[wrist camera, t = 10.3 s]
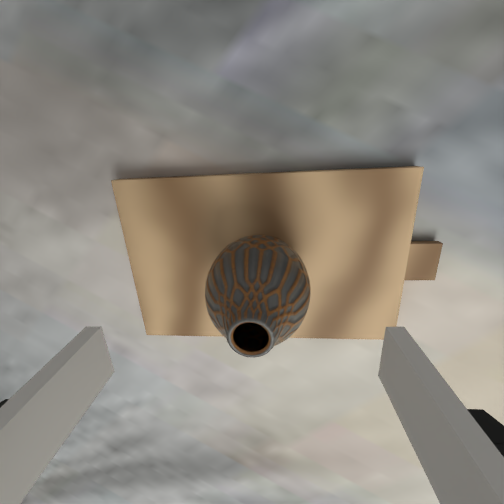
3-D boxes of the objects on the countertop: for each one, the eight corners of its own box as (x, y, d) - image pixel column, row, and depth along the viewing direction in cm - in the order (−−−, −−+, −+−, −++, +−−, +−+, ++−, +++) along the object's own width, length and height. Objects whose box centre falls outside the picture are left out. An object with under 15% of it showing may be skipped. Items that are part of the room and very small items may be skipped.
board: (152, 326, 26) (146, 334, 25) (119, 179, 21) (111, 180, 20) (416, 331, 23) (423, 340, 22) (451, 164, 18) (462, 165, 17)
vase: (282, 209, 19) (286, 252, 11) (318, 285, 21) (343, 369, 13) (202, 246, 21) (155, 307, 13) (242, 314, 23) (223, 404, 15)
